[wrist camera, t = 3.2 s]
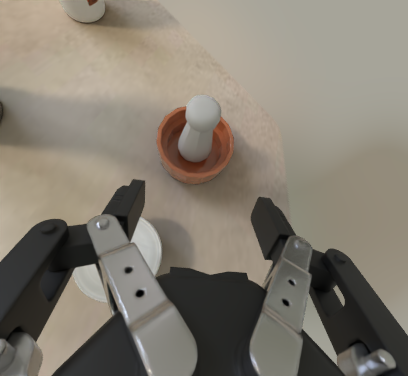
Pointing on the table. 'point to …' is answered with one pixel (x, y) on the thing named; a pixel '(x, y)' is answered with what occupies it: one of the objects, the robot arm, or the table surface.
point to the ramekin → (145, 242)
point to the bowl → (186, 169)
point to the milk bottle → (84, 9)
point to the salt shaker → (199, 128)
